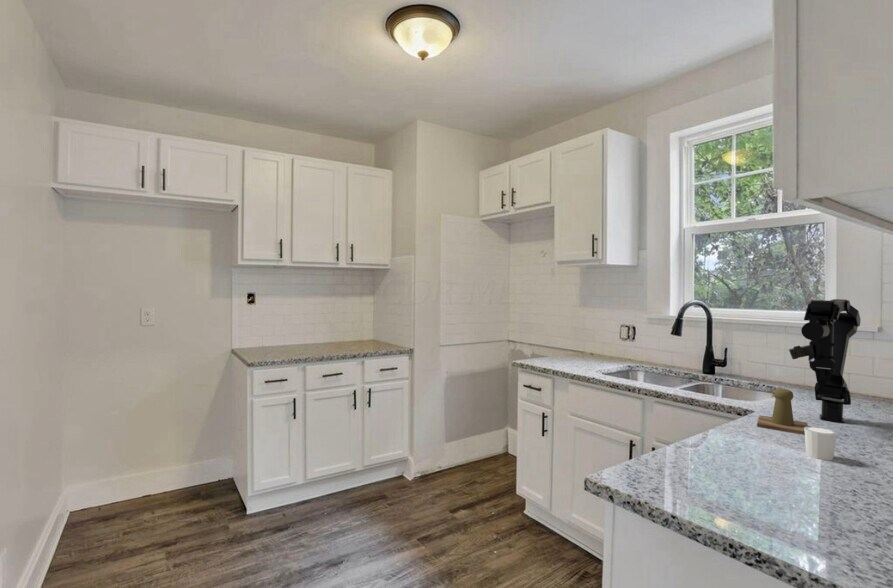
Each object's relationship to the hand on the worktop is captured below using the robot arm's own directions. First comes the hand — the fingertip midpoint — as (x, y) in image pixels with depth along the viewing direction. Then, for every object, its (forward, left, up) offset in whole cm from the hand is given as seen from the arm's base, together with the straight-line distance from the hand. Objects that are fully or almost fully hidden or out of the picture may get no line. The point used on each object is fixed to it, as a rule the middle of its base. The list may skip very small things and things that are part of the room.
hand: (820, 386), depth 153 cm
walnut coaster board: (+8, -9, -13) cm, 18 cm away
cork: (+8, -9, -12) cm, 17 cm away
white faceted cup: (+36, -1, -13) cm, 38 cm away
